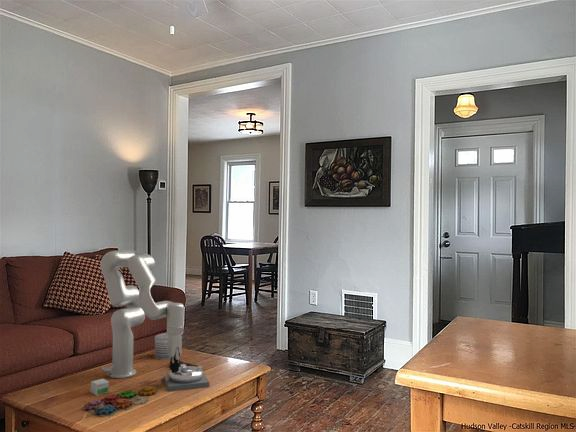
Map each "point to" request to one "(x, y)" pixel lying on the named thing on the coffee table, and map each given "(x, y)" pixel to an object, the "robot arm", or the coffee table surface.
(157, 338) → the can
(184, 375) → the silver disc
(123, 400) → the gear puzzle
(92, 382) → the small box
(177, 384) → the gray plinth
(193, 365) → the hand tool
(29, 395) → the coffee table surface
